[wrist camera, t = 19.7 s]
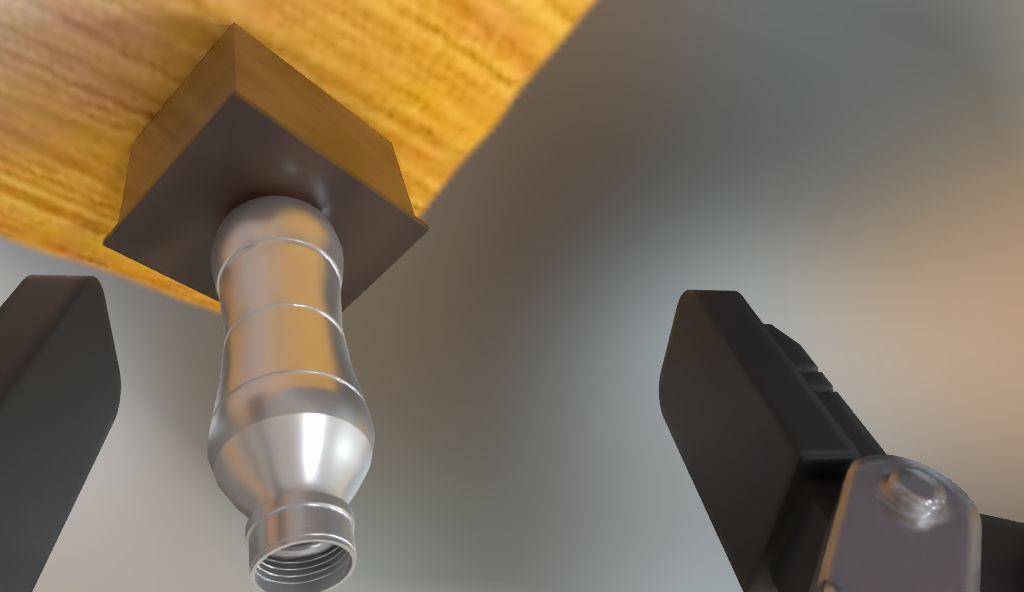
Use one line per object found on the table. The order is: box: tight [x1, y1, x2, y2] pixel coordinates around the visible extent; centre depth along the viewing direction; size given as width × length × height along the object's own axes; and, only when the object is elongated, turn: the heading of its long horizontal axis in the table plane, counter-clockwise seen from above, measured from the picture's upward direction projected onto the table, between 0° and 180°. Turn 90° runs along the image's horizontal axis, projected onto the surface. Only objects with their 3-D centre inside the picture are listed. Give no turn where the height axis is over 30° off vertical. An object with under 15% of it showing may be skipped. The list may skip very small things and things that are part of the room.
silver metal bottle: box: [207, 196, 375, 592], centre depth 33 cm, size 6×7×20 cm
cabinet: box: [103, 23, 429, 312], centre depth 45 cm, size 13×12×11 cm
